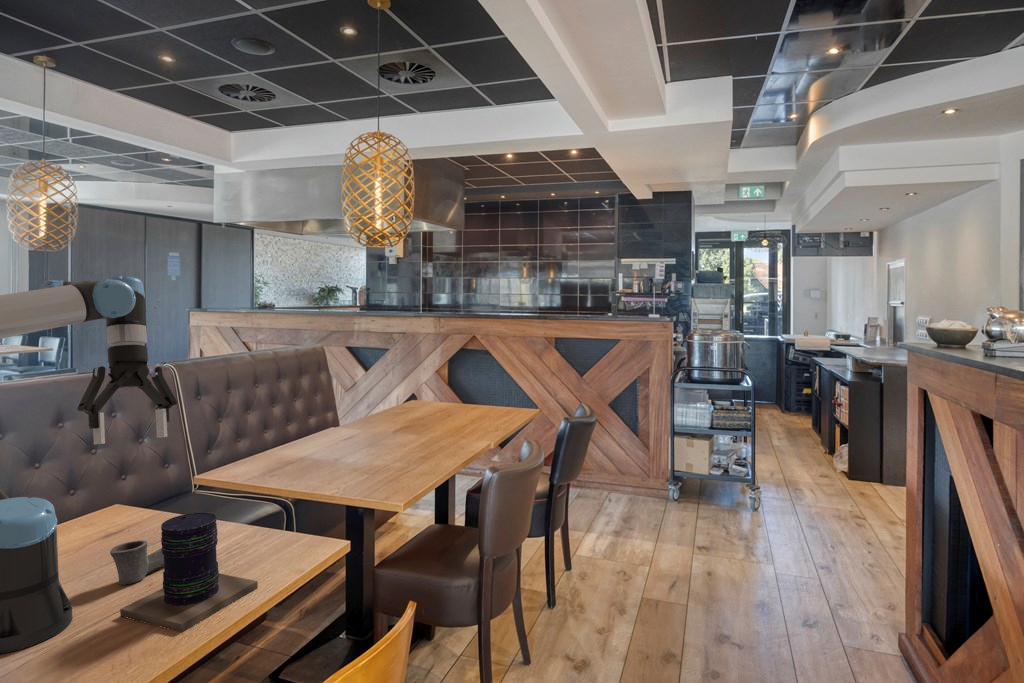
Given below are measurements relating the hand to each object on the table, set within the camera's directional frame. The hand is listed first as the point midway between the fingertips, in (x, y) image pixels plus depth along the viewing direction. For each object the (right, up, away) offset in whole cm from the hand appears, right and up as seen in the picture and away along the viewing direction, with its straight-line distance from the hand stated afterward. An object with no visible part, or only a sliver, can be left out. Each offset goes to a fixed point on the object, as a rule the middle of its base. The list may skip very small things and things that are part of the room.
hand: (132, 440), depth 130 cm
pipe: (+3, -30, -1) cm, 30 cm away
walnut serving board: (+20, -30, -13) cm, 38 cm away
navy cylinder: (+20, -29, -13) cm, 37 cm away
